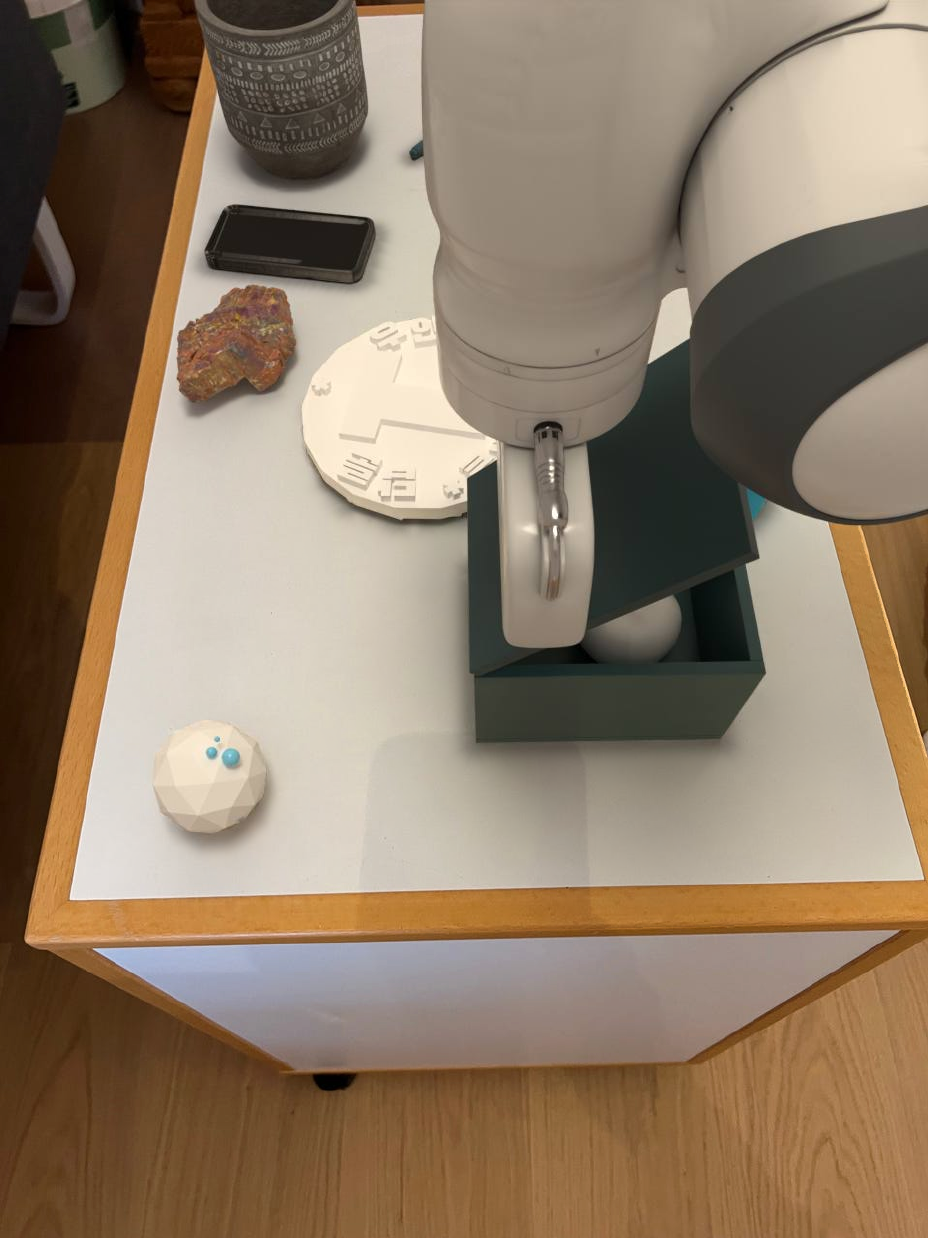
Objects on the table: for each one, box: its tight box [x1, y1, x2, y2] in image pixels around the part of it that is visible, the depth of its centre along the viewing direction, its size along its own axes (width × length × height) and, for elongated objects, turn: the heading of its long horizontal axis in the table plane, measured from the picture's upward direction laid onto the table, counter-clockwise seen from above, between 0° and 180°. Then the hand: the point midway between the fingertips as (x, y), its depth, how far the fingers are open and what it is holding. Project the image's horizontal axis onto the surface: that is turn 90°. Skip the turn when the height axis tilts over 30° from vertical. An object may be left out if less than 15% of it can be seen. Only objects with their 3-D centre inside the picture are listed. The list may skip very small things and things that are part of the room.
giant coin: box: [301, 315, 497, 522], centre depth 71 cm, size 20×20×3 cm
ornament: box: [152, 718, 268, 834], centre depth 54 cm, size 7×7×8 cm
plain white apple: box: [579, 595, 682, 664], centre depth 58 cm, size 7×7×8 cm
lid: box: [466, 337, 760, 676], centre depth 47 cm, size 18×14×1 cm
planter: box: [193, 0, 369, 181], centre depth 83 cm, size 14×14×15 cm
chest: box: [473, 564, 767, 744], centre depth 57 cm, size 17×14×11 cm
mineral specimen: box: [175, 284, 298, 404], centre depth 73 cm, size 12×8×7 cm
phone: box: [203, 203, 376, 284], centre depth 82 cm, size 8×1×15 cm
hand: (529, 528), depth 48 cm, fingers open, 8 cm apart
